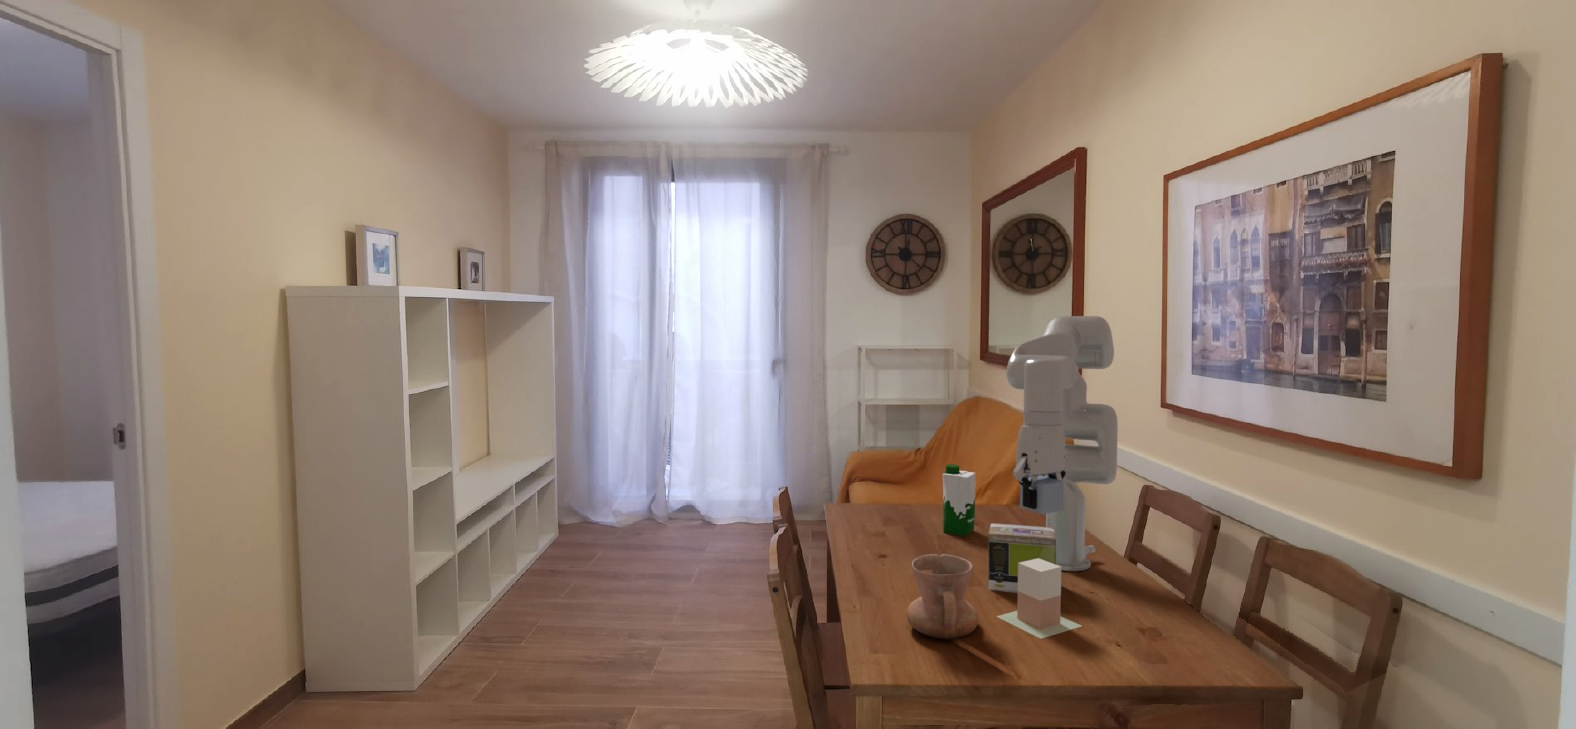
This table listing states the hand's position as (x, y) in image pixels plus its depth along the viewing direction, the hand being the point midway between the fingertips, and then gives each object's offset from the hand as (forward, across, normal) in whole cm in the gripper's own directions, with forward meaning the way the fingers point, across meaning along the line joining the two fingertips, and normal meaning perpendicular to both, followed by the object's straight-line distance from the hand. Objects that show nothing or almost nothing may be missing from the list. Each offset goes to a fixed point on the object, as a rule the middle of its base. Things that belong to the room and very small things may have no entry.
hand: (1041, 504), depth 145 cm
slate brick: (+1, 0, 0) cm, 1 cm away
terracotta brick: (+25, 0, 0) cm, 25 cm away
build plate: (+26, 0, 0) cm, 26 cm away
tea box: (+27, -12, -16) cm, 33 cm away
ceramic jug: (+26, +19, -8) cm, 33 cm away
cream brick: (+19, 0, 0) cm, 19 cm away
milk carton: (+27, -31, -59) cm, 72 cm away
